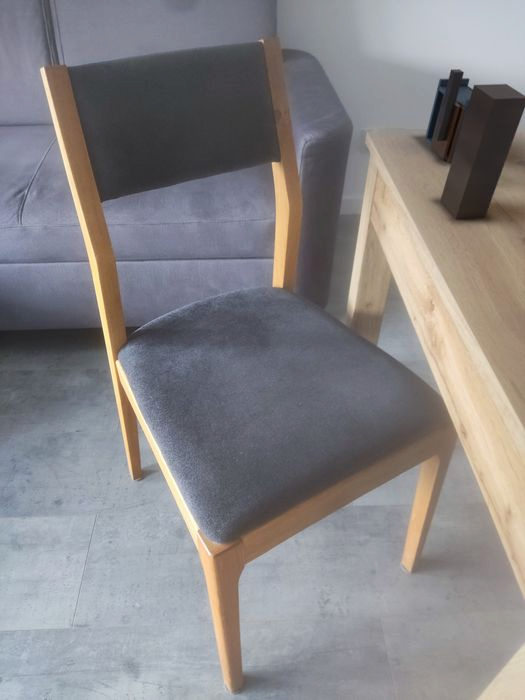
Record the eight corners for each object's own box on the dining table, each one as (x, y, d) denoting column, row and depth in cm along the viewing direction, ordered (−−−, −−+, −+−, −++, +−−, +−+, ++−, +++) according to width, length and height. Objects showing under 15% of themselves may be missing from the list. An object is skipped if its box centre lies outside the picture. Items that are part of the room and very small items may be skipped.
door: (432, 146, 88) (454, 63, 79) (445, 159, 85) (469, 73, 76) (422, 147, 88) (442, 63, 79) (434, 160, 84) (457, 74, 76)
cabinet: (450, 139, 93) (468, 78, 86) (477, 163, 86) (498, 99, 79) (417, 140, 92) (432, 78, 85) (442, 165, 85) (460, 100, 78)
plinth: (467, 202, 76) (506, 83, 65) (484, 220, 73) (528, 97, 62) (439, 204, 75) (473, 84, 64) (454, 222, 72) (494, 98, 61)
